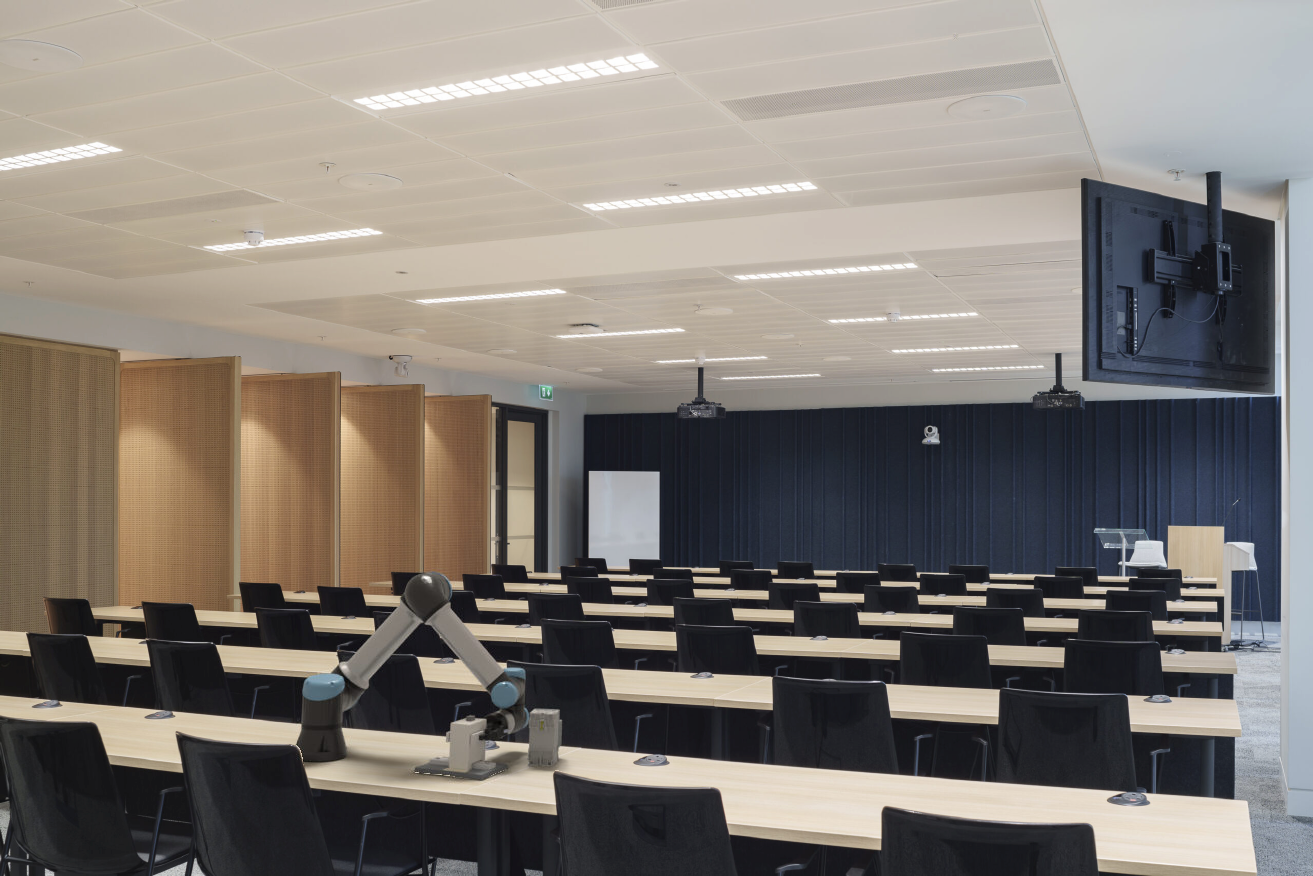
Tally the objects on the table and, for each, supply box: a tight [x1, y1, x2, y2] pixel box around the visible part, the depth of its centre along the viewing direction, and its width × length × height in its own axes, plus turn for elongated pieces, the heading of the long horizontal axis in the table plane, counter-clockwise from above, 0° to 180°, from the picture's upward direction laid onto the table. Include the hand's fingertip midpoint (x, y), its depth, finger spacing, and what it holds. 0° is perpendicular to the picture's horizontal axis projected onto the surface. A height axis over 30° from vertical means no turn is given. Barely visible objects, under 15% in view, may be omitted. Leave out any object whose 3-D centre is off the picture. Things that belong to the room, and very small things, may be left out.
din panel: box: [414, 756, 509, 781], centre depth 310 cm, size 21×16×3 cm
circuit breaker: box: [527, 708, 563, 767], centre depth 327 cm, size 8×14×15 cm, turn 174°
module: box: [448, 714, 487, 770], centre depth 311 cm, size 6×10×14 cm, turn 161°
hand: (459, 738), depth 306 cm, fingers open, 7 cm apart
